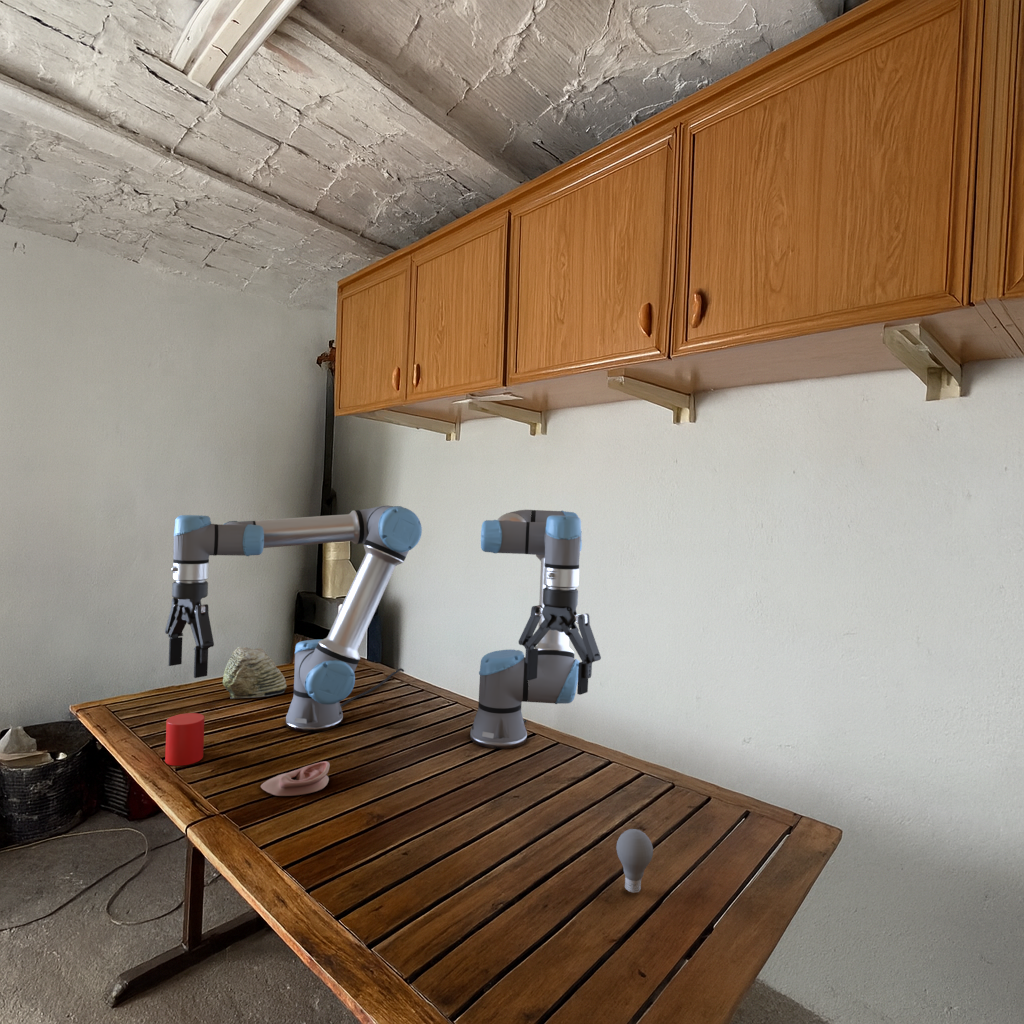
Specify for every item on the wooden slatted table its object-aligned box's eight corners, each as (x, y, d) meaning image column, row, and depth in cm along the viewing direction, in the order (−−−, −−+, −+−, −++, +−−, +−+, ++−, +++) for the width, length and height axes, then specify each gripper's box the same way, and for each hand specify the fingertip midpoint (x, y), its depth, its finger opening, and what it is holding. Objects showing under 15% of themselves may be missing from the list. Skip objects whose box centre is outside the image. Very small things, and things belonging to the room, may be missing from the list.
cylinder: (192, 749, 155) (194, 710, 155) (209, 758, 150) (211, 718, 150) (158, 759, 149) (160, 718, 149) (175, 768, 144) (176, 727, 144)
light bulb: (610, 879, 108) (613, 822, 108) (644, 879, 109) (647, 822, 109) (619, 902, 102) (622, 840, 102) (655, 901, 103) (658, 840, 103)
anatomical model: (253, 773, 134) (283, 753, 145) (252, 792, 134) (282, 770, 145) (310, 782, 131) (336, 760, 142) (309, 801, 131) (335, 777, 143)
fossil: (218, 695, 195) (220, 647, 195) (278, 685, 208) (279, 640, 207) (228, 703, 189) (230, 653, 188) (289, 692, 201) (290, 645, 201)
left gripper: (151, 575, 154) (148, 662, 154) (198, 588, 138) (194, 685, 138) (183, 574, 160) (181, 657, 160) (231, 585, 144) (228, 678, 144)
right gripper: (505, 581, 141) (501, 676, 142) (600, 596, 125) (595, 703, 125) (527, 579, 147) (523, 670, 147) (620, 593, 130) (615, 695, 131)
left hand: (187, 670), depth 149 cm, fingers open, 13 cm apart
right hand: (556, 685), depth 136 cm, fingers open, 13 cm apart
